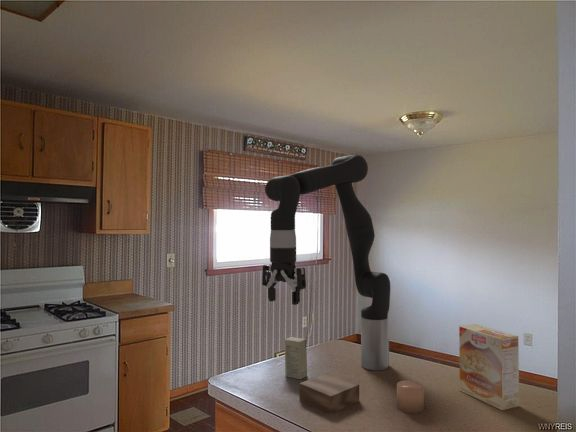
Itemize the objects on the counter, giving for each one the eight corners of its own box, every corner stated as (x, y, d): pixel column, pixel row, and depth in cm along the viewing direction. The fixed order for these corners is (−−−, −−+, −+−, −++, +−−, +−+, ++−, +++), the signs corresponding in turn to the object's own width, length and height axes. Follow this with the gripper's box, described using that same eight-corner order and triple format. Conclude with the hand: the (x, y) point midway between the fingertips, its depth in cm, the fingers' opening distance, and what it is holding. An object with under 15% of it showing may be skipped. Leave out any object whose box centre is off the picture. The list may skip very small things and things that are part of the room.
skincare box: (307, 376, 136) (307, 338, 136) (300, 380, 133) (300, 341, 133) (291, 372, 140) (291, 335, 140) (284, 376, 136) (284, 338, 136)
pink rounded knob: (405, 399, 118) (405, 378, 118) (428, 407, 113) (428, 385, 113) (392, 407, 113) (391, 385, 113) (415, 415, 108) (414, 392, 108)
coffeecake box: (458, 390, 125) (458, 325, 125) (476, 387, 127) (475, 323, 128) (501, 411, 111) (501, 338, 111) (520, 406, 114) (519, 335, 114)
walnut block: (327, 389, 126) (327, 373, 126) (359, 402, 117) (359, 384, 117) (299, 400, 118) (299, 383, 118) (330, 415, 109) (330, 396, 109)
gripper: (310, 246, 116) (311, 303, 116) (272, 244, 125) (273, 298, 125) (294, 247, 111) (295, 308, 110) (255, 245, 119) (256, 301, 119)
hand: (283, 302), depth 118 cm, fingers open, 8 cm apart
